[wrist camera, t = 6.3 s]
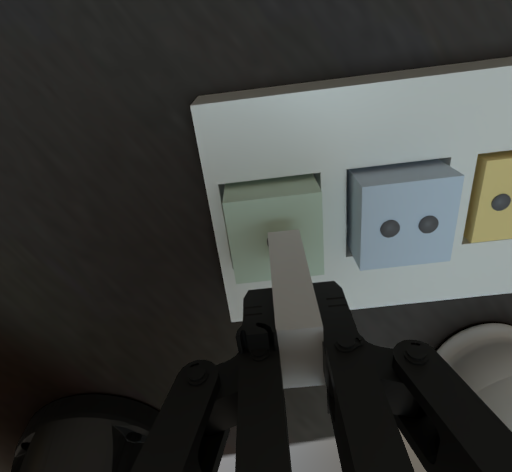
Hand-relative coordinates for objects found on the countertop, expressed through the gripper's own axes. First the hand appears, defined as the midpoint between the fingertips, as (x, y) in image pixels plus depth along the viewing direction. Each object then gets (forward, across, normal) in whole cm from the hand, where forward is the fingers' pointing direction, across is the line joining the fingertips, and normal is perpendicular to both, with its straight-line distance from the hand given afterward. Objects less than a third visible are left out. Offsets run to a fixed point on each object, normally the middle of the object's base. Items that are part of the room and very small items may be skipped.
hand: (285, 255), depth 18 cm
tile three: (+7, +14, 0) cm, 15 cm away
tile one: (+5, 0, 0) cm, 5 cm away
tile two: (+5, +7, 0) cm, 8 cm away
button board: (+7, +7, 0) cm, 10 cm away
